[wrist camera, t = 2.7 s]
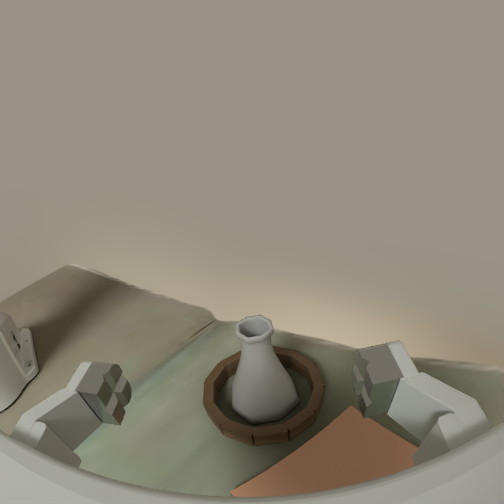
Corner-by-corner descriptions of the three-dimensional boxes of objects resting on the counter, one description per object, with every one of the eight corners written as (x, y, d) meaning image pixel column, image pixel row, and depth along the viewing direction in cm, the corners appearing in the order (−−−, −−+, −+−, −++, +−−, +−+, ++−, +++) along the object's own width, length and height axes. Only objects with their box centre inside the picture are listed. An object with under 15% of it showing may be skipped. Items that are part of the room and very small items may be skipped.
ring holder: (189, 390, 28) (184, 378, 27) (273, 345, 34) (272, 333, 33) (250, 466, 19) (247, 458, 18) (345, 396, 25) (347, 385, 24)
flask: (220, 388, 28) (200, 318, 24) (277, 364, 31) (271, 294, 27) (247, 435, 22) (229, 369, 18) (312, 404, 25) (315, 332, 21)
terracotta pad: (231, 493, 16) (229, 491, 16) (349, 409, 23) (350, 405, 23) (317, 576, 8) (318, 576, 7) (434, 462, 15) (437, 458, 14)
